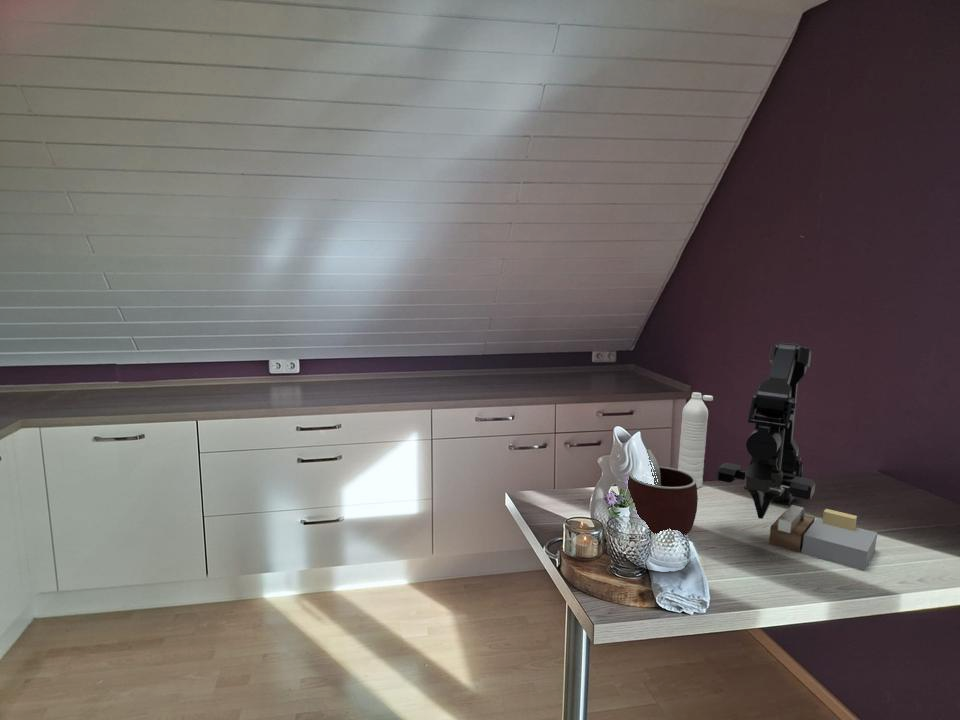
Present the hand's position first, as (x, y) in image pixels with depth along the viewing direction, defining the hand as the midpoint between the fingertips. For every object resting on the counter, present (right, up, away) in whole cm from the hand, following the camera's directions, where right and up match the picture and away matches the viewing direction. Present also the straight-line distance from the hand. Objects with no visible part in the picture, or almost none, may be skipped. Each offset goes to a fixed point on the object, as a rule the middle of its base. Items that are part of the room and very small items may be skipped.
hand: (760, 518), depth 142 cm
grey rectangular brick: (+14, -6, -4) cm, 16 cm away
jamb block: (+7, -5, +1) cm, 9 cm away
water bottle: (-4, 0, +33) cm, 33 cm away
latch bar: (+6, -1, -1) cm, 6 cm away
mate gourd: (-25, -6, -9) cm, 27 cm away
